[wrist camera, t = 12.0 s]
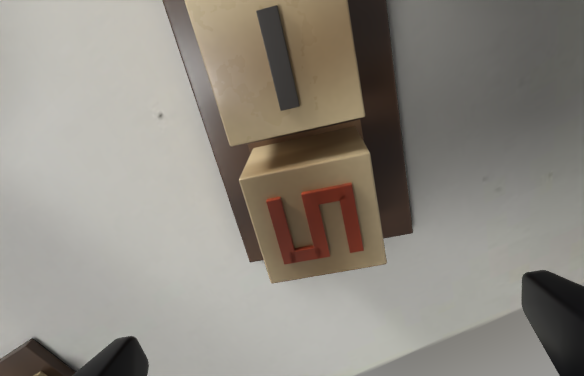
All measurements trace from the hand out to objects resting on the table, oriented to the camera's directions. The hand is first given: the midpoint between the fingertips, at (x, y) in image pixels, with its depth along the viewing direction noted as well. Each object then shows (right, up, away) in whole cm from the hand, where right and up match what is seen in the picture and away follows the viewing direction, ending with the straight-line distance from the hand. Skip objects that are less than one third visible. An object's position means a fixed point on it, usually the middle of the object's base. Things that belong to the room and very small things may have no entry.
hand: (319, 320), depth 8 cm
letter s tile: (0, +3, +7) cm, 8 cm away
